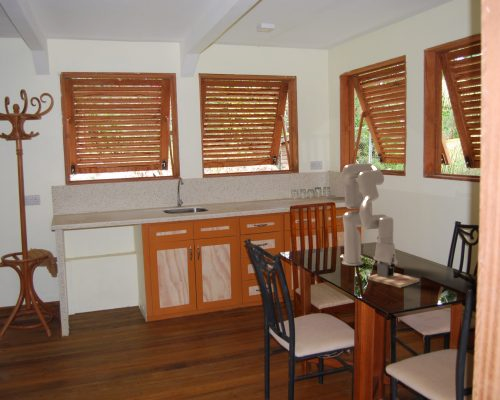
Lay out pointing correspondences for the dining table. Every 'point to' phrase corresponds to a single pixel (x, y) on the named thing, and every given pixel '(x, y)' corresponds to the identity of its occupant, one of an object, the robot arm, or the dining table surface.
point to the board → (395, 280)
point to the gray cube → (383, 270)
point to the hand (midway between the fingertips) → (385, 273)
